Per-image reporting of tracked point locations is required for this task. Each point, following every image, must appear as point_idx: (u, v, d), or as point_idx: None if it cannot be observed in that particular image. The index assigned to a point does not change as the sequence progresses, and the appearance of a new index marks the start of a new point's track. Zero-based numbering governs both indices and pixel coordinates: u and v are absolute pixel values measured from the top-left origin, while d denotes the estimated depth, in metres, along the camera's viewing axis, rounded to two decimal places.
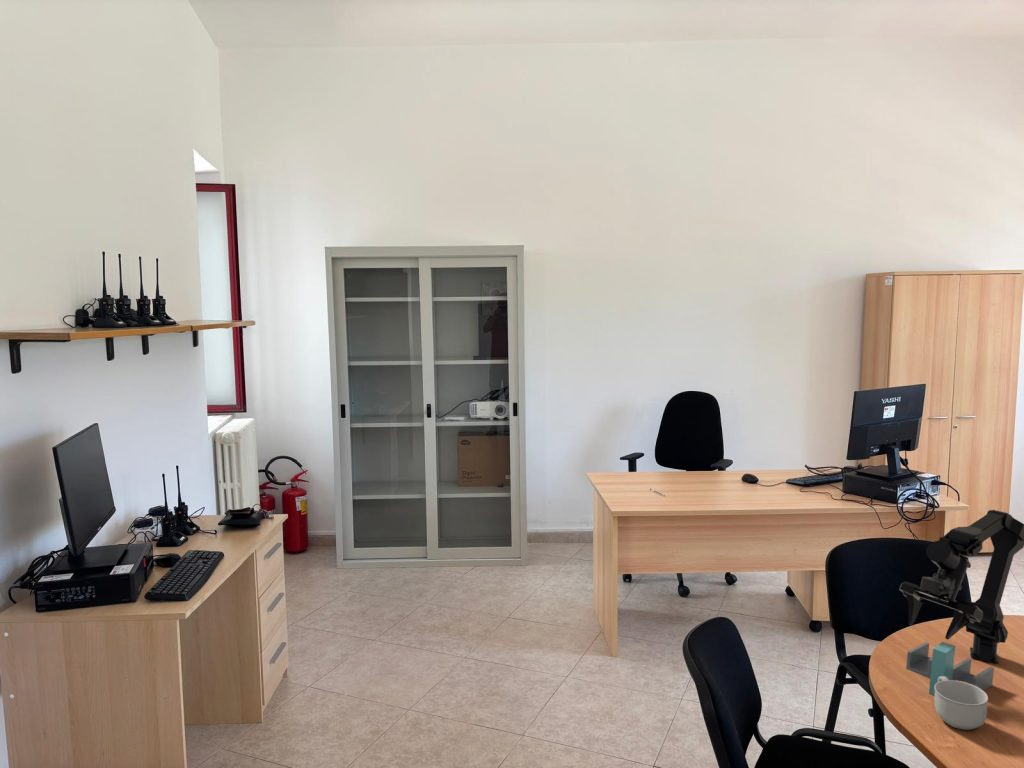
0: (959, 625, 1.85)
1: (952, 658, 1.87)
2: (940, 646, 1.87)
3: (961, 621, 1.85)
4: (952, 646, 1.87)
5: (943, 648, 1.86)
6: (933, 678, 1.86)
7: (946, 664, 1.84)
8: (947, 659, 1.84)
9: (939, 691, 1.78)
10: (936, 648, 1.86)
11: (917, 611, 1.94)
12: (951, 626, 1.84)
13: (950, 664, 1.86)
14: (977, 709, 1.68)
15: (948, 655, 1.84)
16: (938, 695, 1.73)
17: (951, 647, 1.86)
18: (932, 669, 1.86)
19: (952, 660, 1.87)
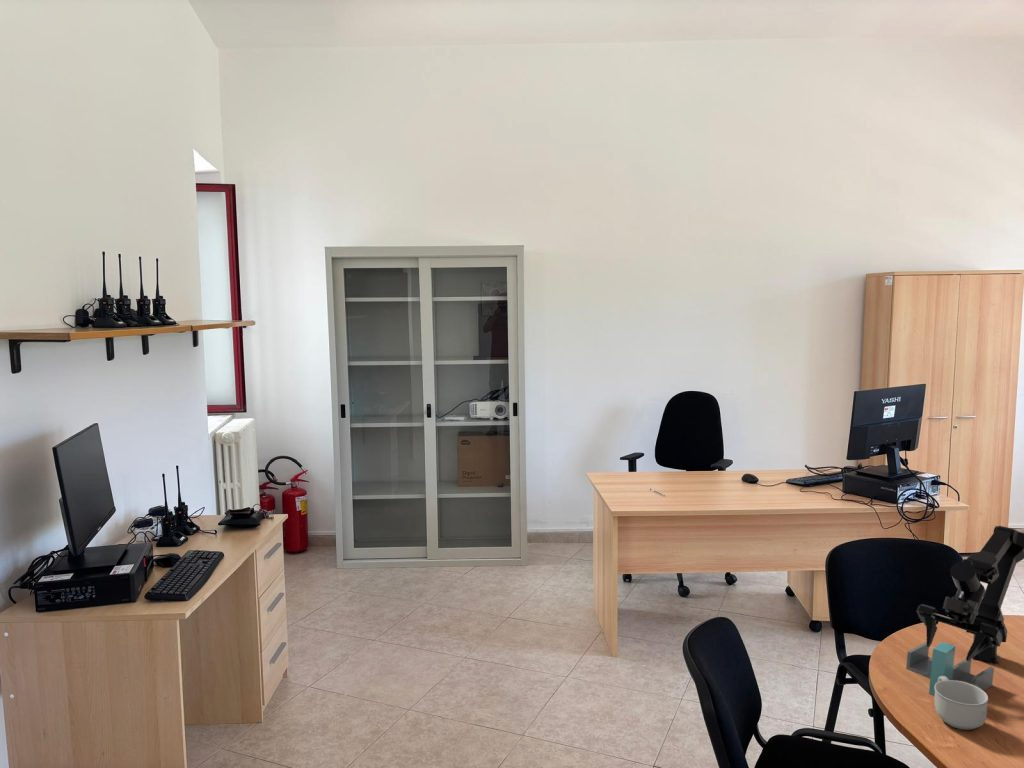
0: (979, 648, 1.86)
1: (952, 658, 1.87)
2: (940, 646, 1.87)
3: (981, 644, 1.86)
4: (952, 646, 1.87)
5: (943, 648, 1.86)
6: (933, 678, 1.86)
7: (946, 664, 1.84)
8: (947, 659, 1.84)
9: (939, 691, 1.78)
10: (936, 648, 1.86)
11: (933, 634, 1.94)
12: (972, 647, 1.85)
13: (950, 664, 1.86)
14: (977, 709, 1.68)
15: (948, 655, 1.84)
16: (938, 695, 1.73)
17: (951, 647, 1.86)
18: (932, 669, 1.86)
19: (952, 660, 1.87)
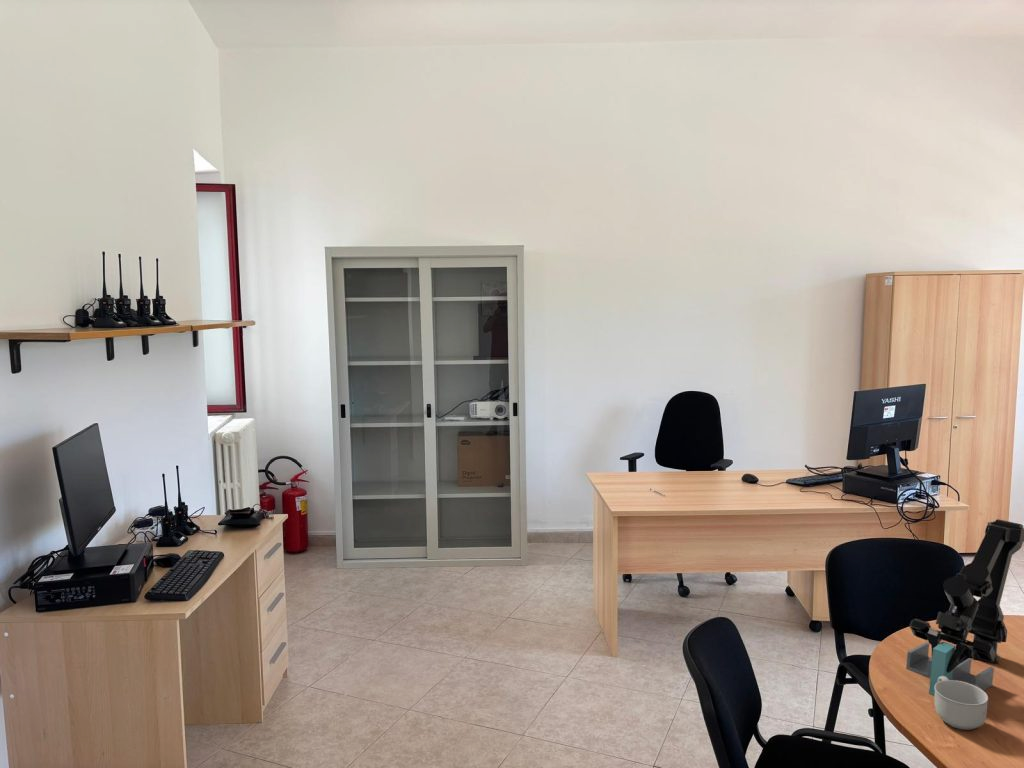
0: (959, 659, 1.86)
1: None
2: (940, 645, 1.87)
3: (961, 655, 1.86)
4: (952, 646, 1.87)
5: (943, 648, 1.86)
6: (933, 678, 1.86)
7: (946, 664, 1.84)
8: (947, 659, 1.84)
9: (939, 691, 1.78)
10: (936, 648, 1.86)
11: None
12: (953, 659, 1.85)
13: None
14: (977, 709, 1.68)
15: (948, 654, 1.84)
16: (938, 695, 1.73)
17: (951, 647, 1.86)
18: (932, 669, 1.86)
19: None
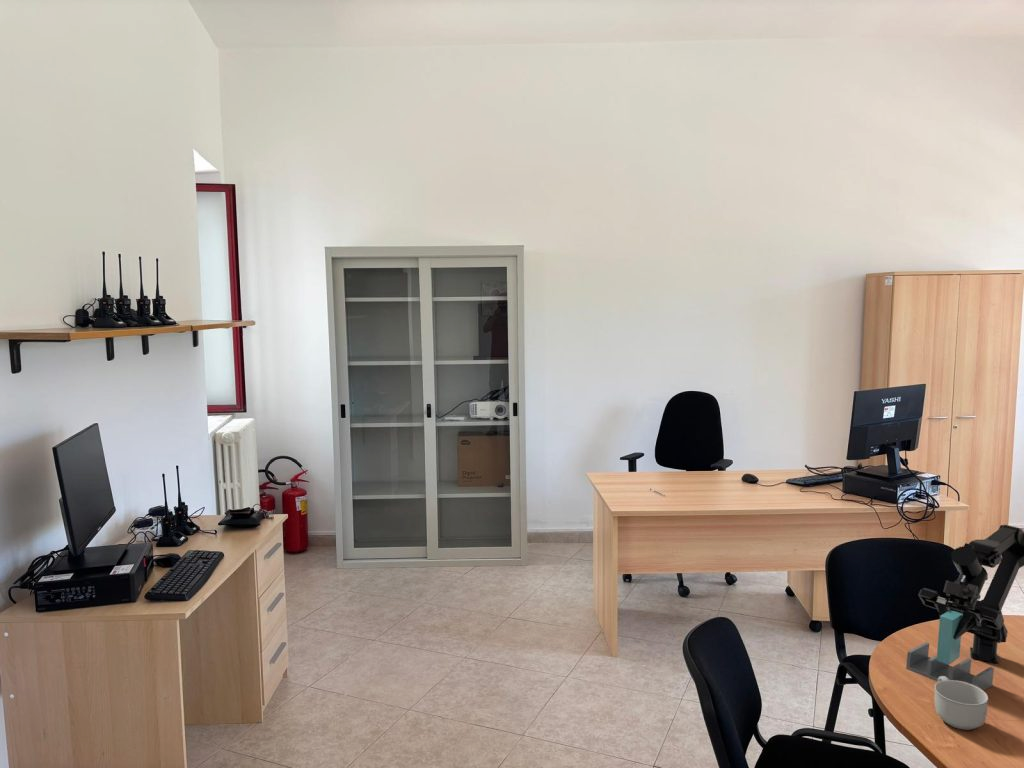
0: (967, 627, 1.90)
1: None
2: (947, 613, 1.91)
3: (969, 623, 1.90)
4: (959, 614, 1.91)
5: (950, 615, 1.90)
6: (941, 645, 1.90)
7: (953, 631, 1.88)
8: (954, 626, 1.88)
9: (939, 691, 1.78)
10: (943, 615, 1.90)
11: None
12: (960, 626, 1.89)
13: None
14: (977, 709, 1.68)
15: (954, 622, 1.88)
16: (938, 695, 1.73)
17: (958, 615, 1.90)
18: (939, 636, 1.90)
19: None
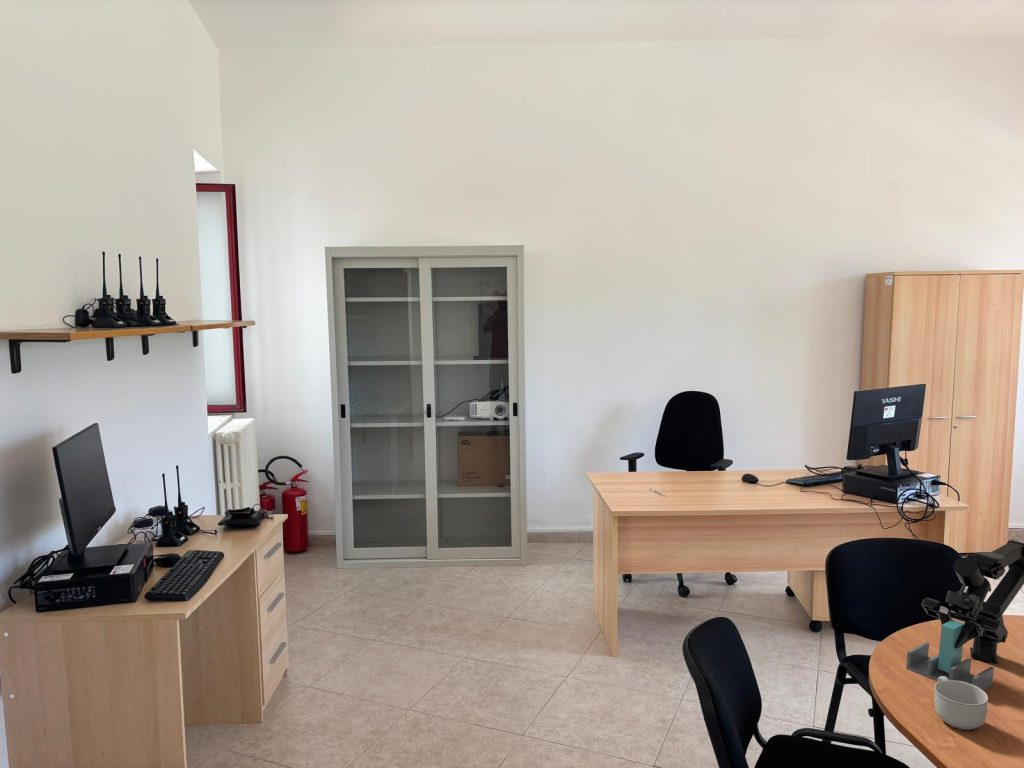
0: (968, 636, 1.93)
1: None
2: (949, 623, 1.94)
3: (970, 633, 1.93)
4: (961, 623, 1.94)
5: (952, 625, 1.93)
6: (942, 654, 1.94)
7: (954, 640, 1.92)
8: (955, 635, 1.92)
9: (939, 691, 1.78)
10: (945, 625, 1.93)
11: None
12: (961, 636, 1.92)
13: None
14: (977, 709, 1.68)
15: (956, 631, 1.92)
16: (938, 695, 1.73)
17: (960, 624, 1.94)
18: (941, 645, 1.94)
19: None
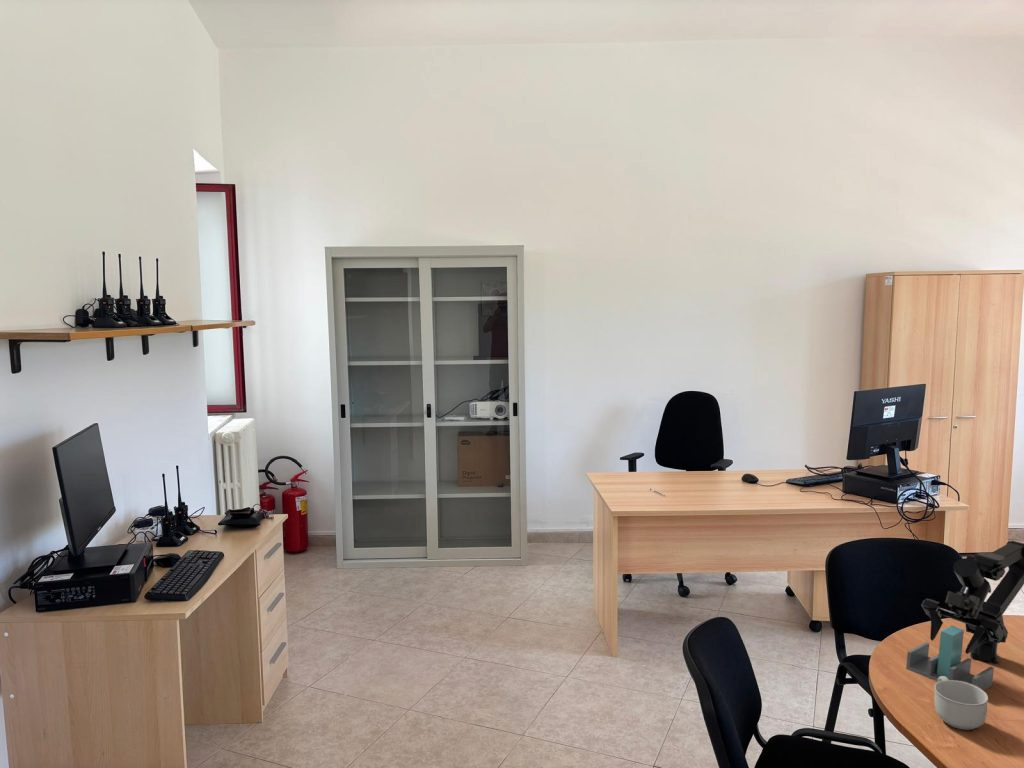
0: (979, 641, 1.91)
1: (960, 641, 1.94)
2: (948, 629, 1.95)
3: (981, 638, 1.91)
4: (960, 630, 1.94)
5: (951, 631, 1.94)
6: (941, 660, 1.94)
7: (953, 646, 1.92)
8: (954, 641, 1.92)
9: (939, 691, 1.78)
10: (944, 631, 1.93)
11: (938, 628, 1.99)
12: (972, 641, 1.90)
13: (958, 647, 1.94)
14: (977, 709, 1.68)
15: (955, 637, 1.92)
16: (938, 695, 1.73)
17: (959, 630, 1.94)
18: (940, 651, 1.94)
19: (960, 643, 1.94)
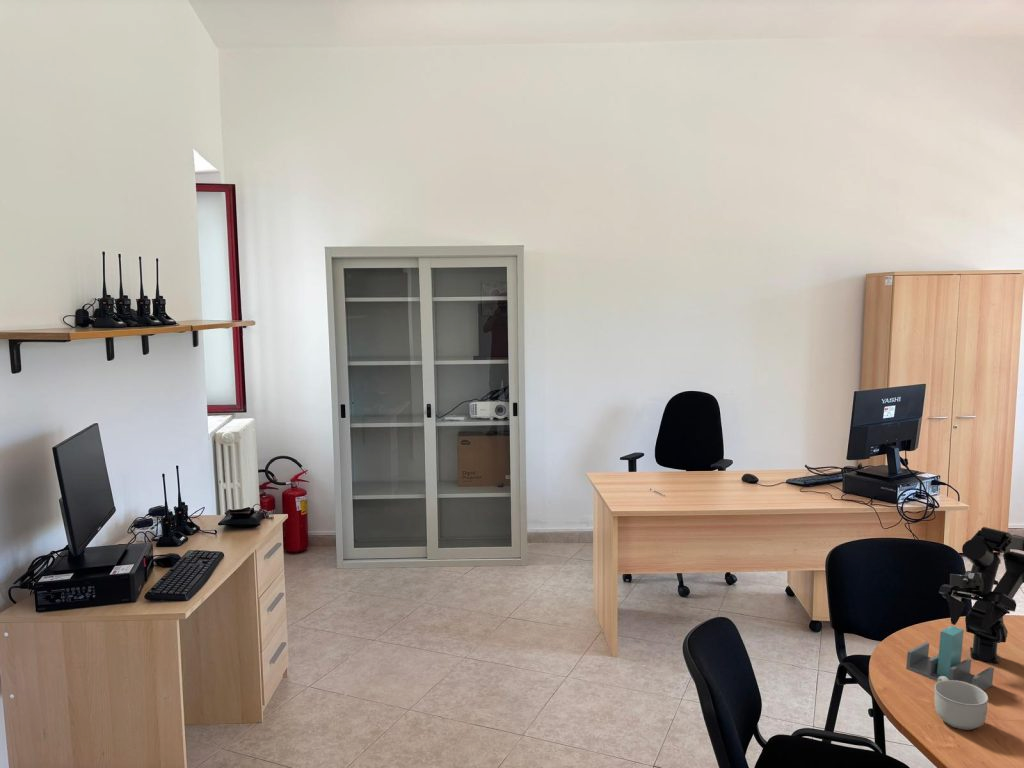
0: (994, 616, 1.92)
1: (960, 641, 1.94)
2: (948, 629, 1.95)
3: (996, 612, 1.92)
4: (960, 630, 1.94)
5: (951, 631, 1.94)
6: (941, 660, 1.94)
7: (953, 646, 1.92)
8: (954, 641, 1.92)
9: (939, 691, 1.78)
10: (944, 631, 1.94)
11: (960, 611, 2.02)
12: (985, 617, 1.92)
13: (958, 647, 1.94)
14: (977, 709, 1.68)
15: (955, 637, 1.92)
16: (938, 695, 1.73)
17: (959, 630, 1.94)
18: (940, 651, 1.94)
19: (960, 643, 1.94)
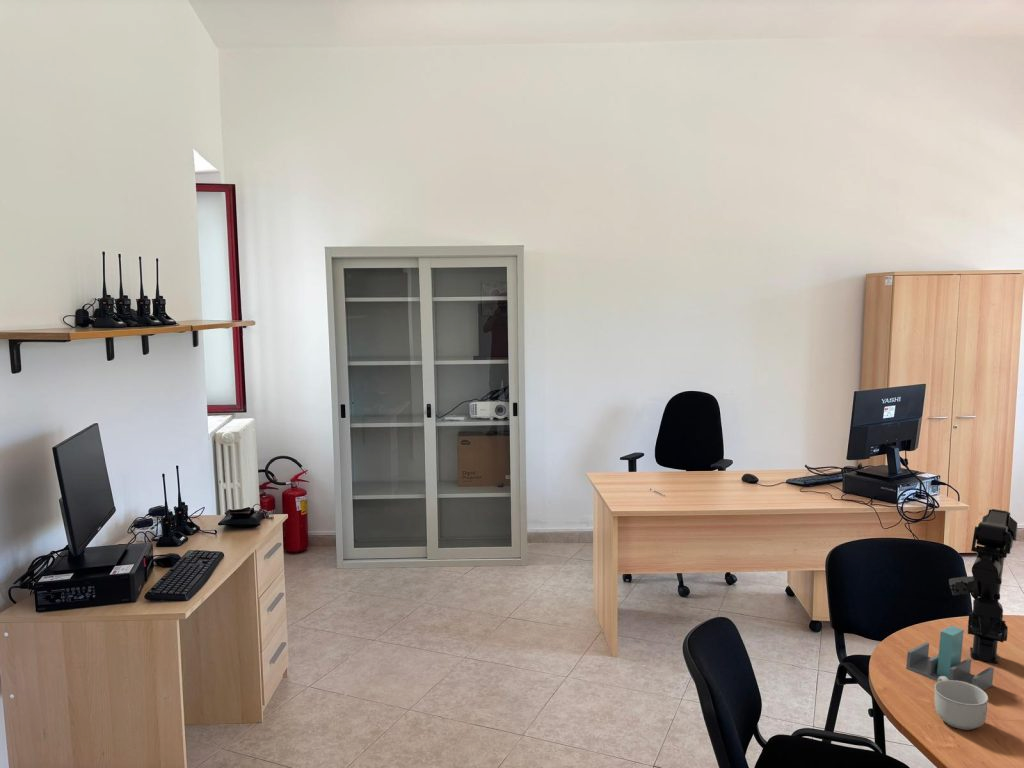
0: (989, 621, 1.89)
1: (960, 641, 1.94)
2: (948, 629, 1.95)
3: (990, 617, 1.89)
4: (960, 630, 1.94)
5: (951, 631, 1.94)
6: (941, 660, 1.94)
7: (953, 646, 1.92)
8: (954, 641, 1.92)
9: (939, 691, 1.78)
10: (944, 631, 1.94)
11: None
12: (980, 623, 1.91)
13: (958, 647, 1.94)
14: (977, 709, 1.68)
15: (955, 637, 1.92)
16: (938, 695, 1.73)
17: (959, 630, 1.94)
18: (940, 651, 1.94)
19: (960, 643, 1.94)
